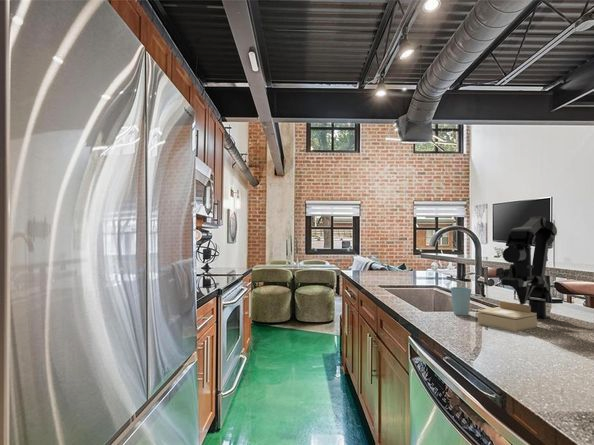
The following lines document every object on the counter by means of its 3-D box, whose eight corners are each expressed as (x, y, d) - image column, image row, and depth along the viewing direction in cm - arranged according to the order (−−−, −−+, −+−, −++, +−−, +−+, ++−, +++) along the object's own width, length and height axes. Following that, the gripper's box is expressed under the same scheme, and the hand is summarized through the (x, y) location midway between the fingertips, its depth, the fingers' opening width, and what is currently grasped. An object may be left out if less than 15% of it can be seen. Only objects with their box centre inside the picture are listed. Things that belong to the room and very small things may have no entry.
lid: (499, 308, 135) (499, 300, 135) (536, 314, 124) (536, 306, 124) (477, 312, 128) (477, 303, 128) (515, 319, 117) (515, 310, 117)
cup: (458, 311, 150) (458, 286, 150) (475, 315, 143) (475, 289, 143) (446, 313, 146) (446, 287, 146) (463, 316, 139) (463, 290, 140)
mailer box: (499, 319, 135) (499, 309, 135) (536, 327, 124) (536, 315, 124) (477, 324, 127) (477, 312, 128) (515, 332, 116) (515, 320, 117)
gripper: (512, 260, 144) (513, 298, 143) (486, 261, 134) (487, 302, 134) (543, 261, 135) (544, 303, 134) (517, 263, 125) (518, 308, 124)
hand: (522, 304), depth 132 cm, fingers closed
